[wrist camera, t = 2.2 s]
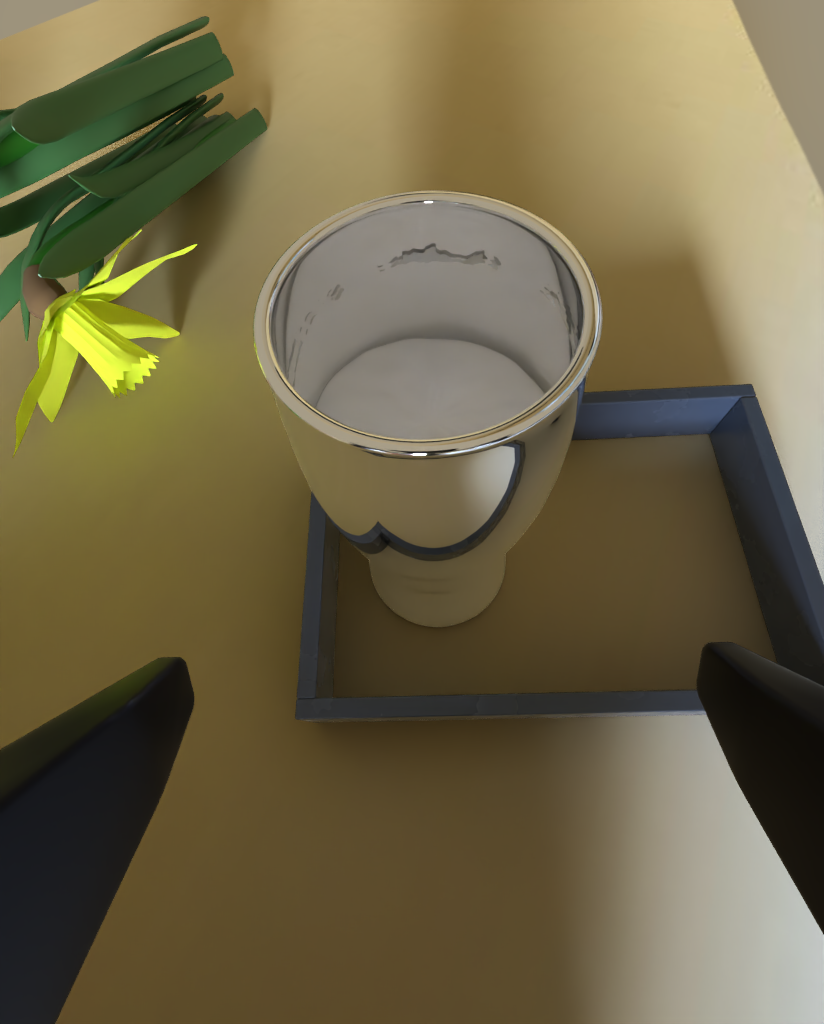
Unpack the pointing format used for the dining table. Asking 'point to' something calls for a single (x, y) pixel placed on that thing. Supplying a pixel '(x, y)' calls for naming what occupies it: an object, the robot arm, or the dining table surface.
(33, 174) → the daffodil flowers
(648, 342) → the dining table surface
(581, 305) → the silver metal goblet
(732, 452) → the dark grey hollow frame
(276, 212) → the dining table surface
